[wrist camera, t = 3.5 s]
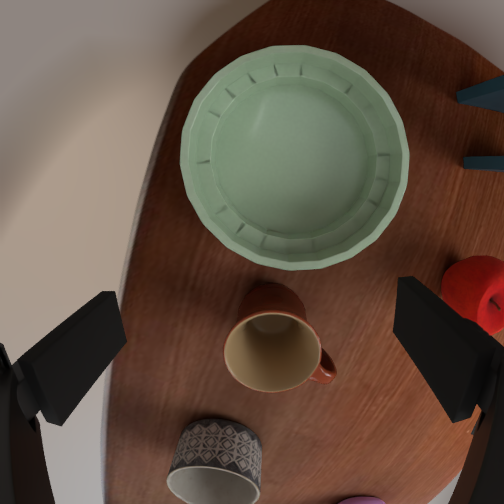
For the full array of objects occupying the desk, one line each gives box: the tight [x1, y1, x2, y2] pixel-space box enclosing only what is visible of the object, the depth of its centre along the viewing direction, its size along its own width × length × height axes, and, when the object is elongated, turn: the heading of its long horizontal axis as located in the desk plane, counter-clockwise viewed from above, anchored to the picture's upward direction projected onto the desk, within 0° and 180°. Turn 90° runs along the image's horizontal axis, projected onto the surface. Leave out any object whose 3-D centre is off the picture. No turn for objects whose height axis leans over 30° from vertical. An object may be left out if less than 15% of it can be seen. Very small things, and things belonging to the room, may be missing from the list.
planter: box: [167, 419, 262, 504], centre depth 37 cm, size 13×13×10 cm
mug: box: [223, 283, 337, 393], centre depth 32 cm, size 12×9×10 cm
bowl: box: [180, 45, 409, 271], centre depth 29 cm, size 21×21×7 cm
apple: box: [441, 256, 504, 336], centre depth 29 cm, size 9×9×11 cm
